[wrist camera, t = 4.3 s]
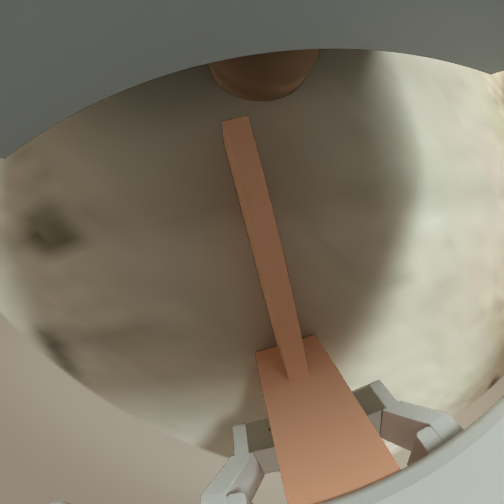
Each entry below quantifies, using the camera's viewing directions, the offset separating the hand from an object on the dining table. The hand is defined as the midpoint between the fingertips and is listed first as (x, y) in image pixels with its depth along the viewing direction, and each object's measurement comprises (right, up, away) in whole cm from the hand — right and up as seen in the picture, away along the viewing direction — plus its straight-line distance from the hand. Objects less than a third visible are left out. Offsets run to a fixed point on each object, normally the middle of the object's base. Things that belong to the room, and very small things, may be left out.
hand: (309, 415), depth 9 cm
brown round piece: (-2, +15, +1) cm, 15 cm away
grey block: (-3, +18, 0) cm, 18 cm away
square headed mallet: (-1, +5, +3) cm, 6 cm away
